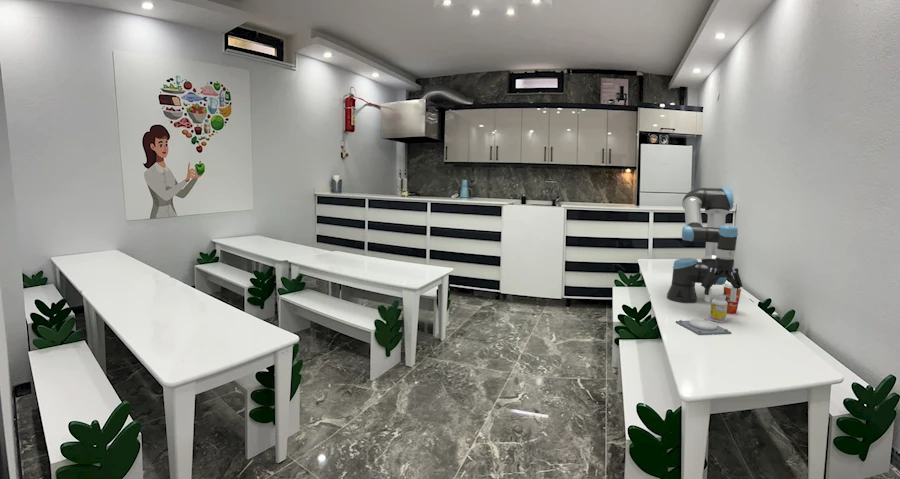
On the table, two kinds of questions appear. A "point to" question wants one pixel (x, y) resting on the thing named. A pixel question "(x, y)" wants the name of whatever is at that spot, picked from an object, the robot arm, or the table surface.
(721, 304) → the supplement bottle
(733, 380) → the table surface
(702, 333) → the flange
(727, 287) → the coffee cup
